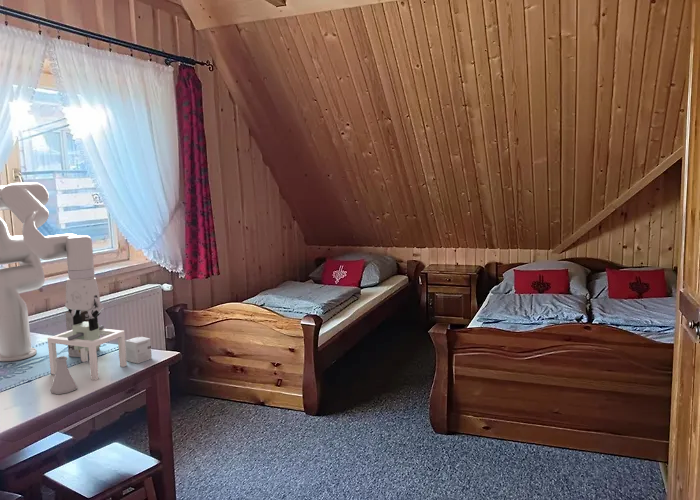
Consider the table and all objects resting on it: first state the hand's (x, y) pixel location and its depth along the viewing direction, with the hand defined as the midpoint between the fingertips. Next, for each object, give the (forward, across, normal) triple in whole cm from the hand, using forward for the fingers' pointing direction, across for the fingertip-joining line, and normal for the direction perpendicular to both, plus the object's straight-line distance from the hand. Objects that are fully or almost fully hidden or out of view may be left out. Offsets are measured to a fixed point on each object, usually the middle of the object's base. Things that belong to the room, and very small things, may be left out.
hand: (86, 328), depth 182 cm
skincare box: (+14, +9, +13) cm, 21 cm away
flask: (+14, +6, -16) cm, 22 cm away
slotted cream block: (+7, 0, 0) cm, 7 cm away
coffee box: (+14, -15, +13) cm, 24 cm away
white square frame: (+14, 0, 0) cm, 14 cm away
